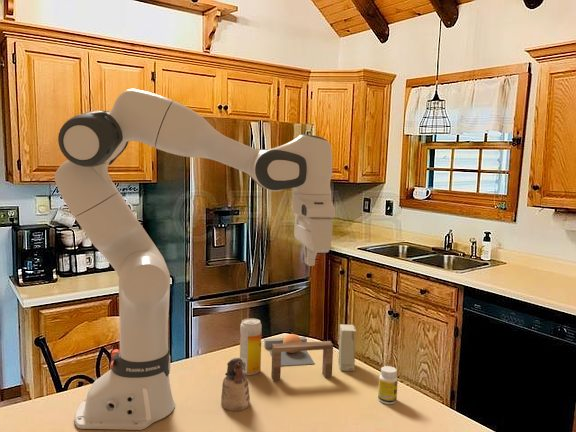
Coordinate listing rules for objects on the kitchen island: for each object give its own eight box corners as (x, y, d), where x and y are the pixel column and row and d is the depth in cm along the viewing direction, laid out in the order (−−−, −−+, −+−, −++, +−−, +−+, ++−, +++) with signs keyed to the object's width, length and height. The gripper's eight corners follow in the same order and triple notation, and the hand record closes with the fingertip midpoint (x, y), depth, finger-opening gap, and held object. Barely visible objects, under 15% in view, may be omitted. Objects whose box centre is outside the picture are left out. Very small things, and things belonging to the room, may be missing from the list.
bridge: (331, 377, 134) (333, 344, 133) (273, 381, 131) (274, 348, 129) (328, 373, 137) (330, 341, 136) (271, 376, 133) (272, 343, 132)
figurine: (246, 395, 122) (247, 351, 121) (252, 409, 116) (253, 362, 114) (218, 399, 120) (219, 354, 119) (224, 413, 113) (224, 365, 112)
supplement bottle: (396, 405, 119) (398, 374, 118) (377, 403, 120) (379, 372, 119) (396, 396, 124) (398, 366, 123) (378, 394, 125) (379, 364, 124)
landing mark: (275, 366, 140) (275, 365, 140) (269, 350, 152) (269, 350, 152) (314, 364, 143) (314, 363, 143) (305, 348, 154) (305, 348, 154)
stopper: (265, 348, 154) (265, 341, 153) (264, 346, 156) (264, 338, 155) (306, 346, 157) (306, 339, 156) (305, 344, 159) (305, 336, 158)
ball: (281, 345, 154) (285, 358, 149) (281, 331, 151) (285, 344, 146) (299, 342, 155) (303, 355, 150) (299, 328, 153) (303, 341, 147)
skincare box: (354, 371, 139) (356, 331, 137) (339, 371, 139) (341, 331, 137) (352, 362, 145) (353, 324, 144) (337, 361, 145) (339, 323, 144)
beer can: (264, 370, 138) (265, 320, 136) (252, 377, 133) (253, 326, 131) (248, 365, 141) (249, 316, 139) (235, 372, 136) (236, 322, 134)
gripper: (289, 202, 118) (287, 256, 120) (309, 210, 99) (307, 274, 100) (313, 202, 120) (311, 255, 121) (338, 210, 100) (335, 274, 101)
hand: (309, 264), depth 111 cm, fingers closed
